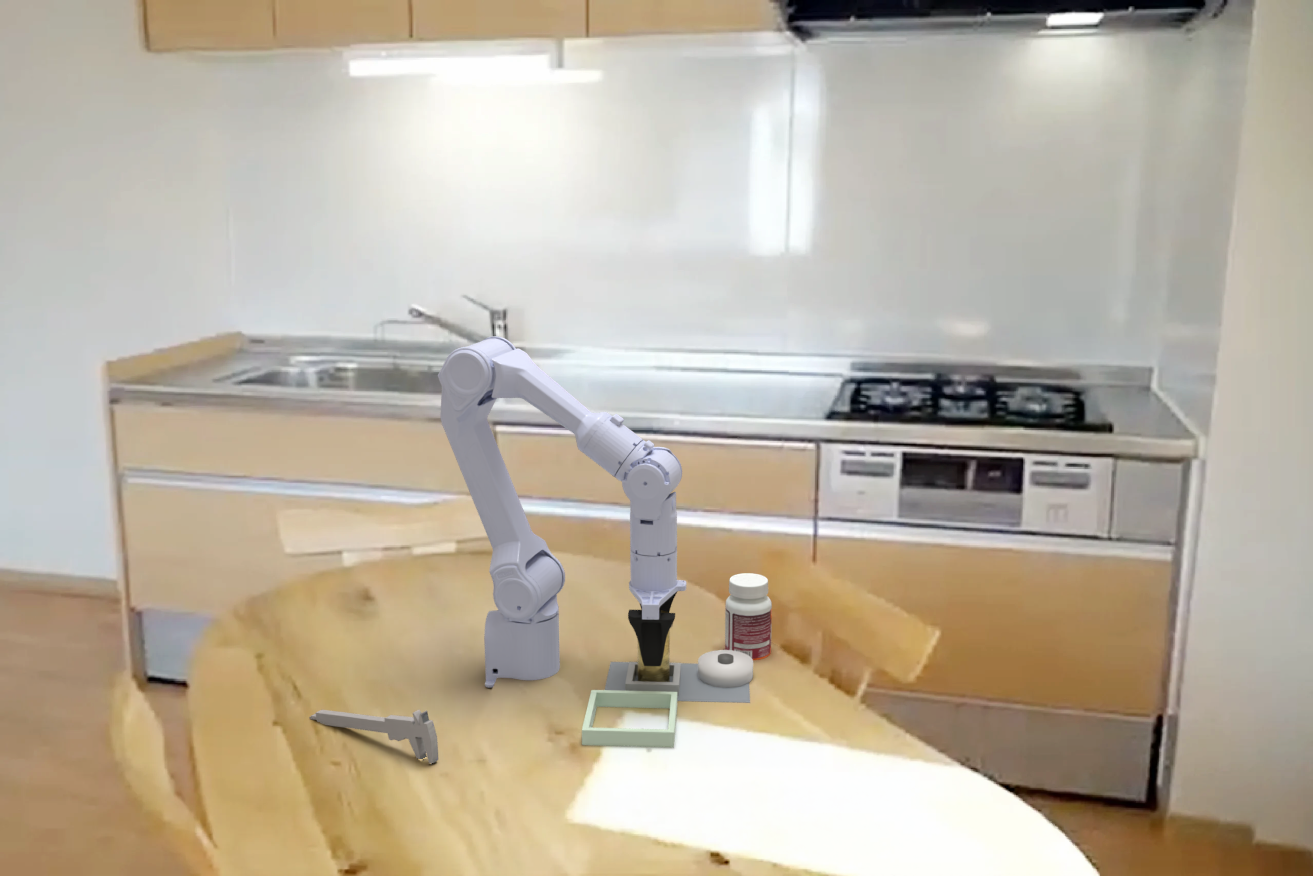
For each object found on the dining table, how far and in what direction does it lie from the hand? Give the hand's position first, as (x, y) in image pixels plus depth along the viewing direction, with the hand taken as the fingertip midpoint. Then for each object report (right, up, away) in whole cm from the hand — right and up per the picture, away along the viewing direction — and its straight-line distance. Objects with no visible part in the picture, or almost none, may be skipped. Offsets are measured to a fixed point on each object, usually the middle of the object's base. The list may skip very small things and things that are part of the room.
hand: (654, 652), depth 153 cm
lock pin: (0, -4, +1) cm, 4 cm away
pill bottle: (+12, -3, +11) cm, 17 cm away
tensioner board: (+3, -5, +2) cm, 6 cm away
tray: (-3, -8, -9) cm, 12 cm away
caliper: (-33, -9, -10) cm, 36 cm away
